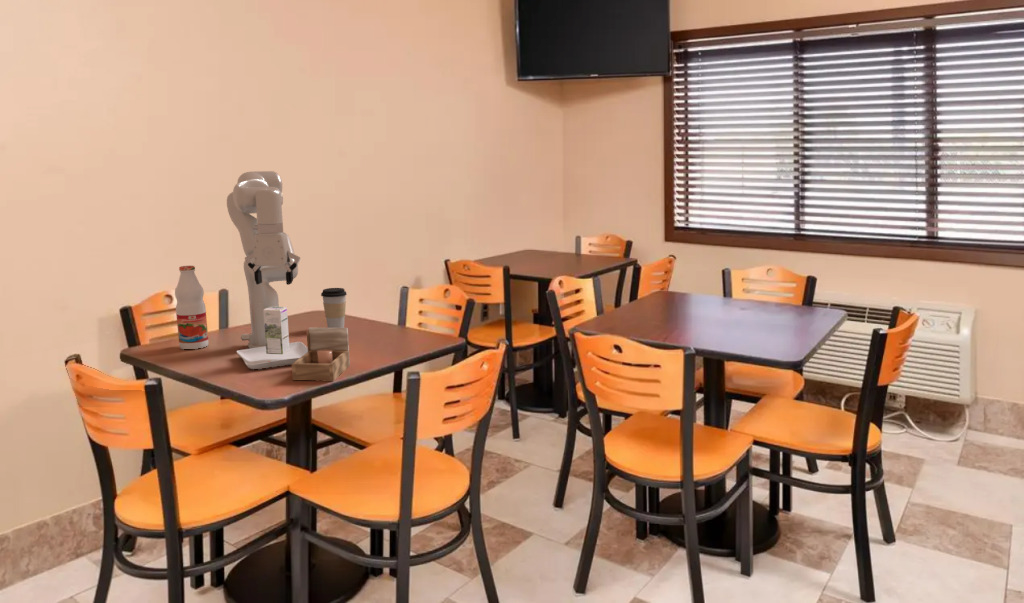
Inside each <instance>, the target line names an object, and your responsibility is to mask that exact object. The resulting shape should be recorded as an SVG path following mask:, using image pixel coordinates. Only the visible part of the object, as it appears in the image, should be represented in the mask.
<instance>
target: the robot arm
mask: <svg viewBox="0 0 1024 603" xmlns="http://www.w3.org/2000/svg"><path fill="white" fill-rule="evenodd" d="M283 196H284V195H283V182H282V177H281V175H279V173H277V172H276V171H274V170H269V171H268V170H267V171H265V170H263V171H262V170H261V171H259V170H258V171H257V170H256V171H247V172H244V173H242V174H241V175H239V177H238V179H237V183H236V184H235V185H234V186H233V191H231V192H230V193H229V194H228V195H227V197H226V207H227V213H228V216H229V217H230V219H231V221H232V223H233V225H234V226H235V228H236V229H237V231H238V232H239V236H240V241H241V244H242V245H241V246H242V249H243V252H244V254H245V257H244V261H243V272H244V276H245V281H246V285H247V292H248V293H247V294H248V303H249V304H248V305H249V314H250V329H251V332H250V333H242V334H240V339H241V341H248V343H247V348H248V349H251V348H257V347H264V346H266V341H265V327H264V313H263V310H264V309H266V308H267V307H280V303H279V302H280V301H279V294H278V292H277V290H275V288H273V287H272V286H271V284H270V283H273V282H285V281H286V282H285V284H286V285H287V286H288V285H291V284H293V282H294V279H295V278H297V276H298V275H299V265H298V264H299V263H300V260H301V257H300V256H298V255H297V254H295V251H294V248H293V243H292V241H291V238H290V236H289V234H287V233H286V232H285V231H284V225H283V220H284V219H283V207H282V205H283V203H284V197H283ZM252 214H256V217H255V216H254V215H252Z"/></svg>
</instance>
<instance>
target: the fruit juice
mask: <svg viewBox="0 0 1024 603" xmlns="http://www.w3.org/2000/svg"><path fill="white" fill-rule="evenodd" d="M178 270H179V273H180V275H179V278H178V282H177V285H176V286H175V289H174V296H175V299H176V305H175V315H176V325H177V326H176V327H177V335H178V347H179V348H180V350H184V349H195V350H199V349H198V348H201V349H204V348H203V347H205V348H207V347H208V346H209V341H210V340H209V333H208V331H209V330H208V320H207V310H206V308H207V307H206V304H205V302H204V294H205V293H204V292H205V291H204V288H203V286H202V285H201V283H200V282H199V280H198V278H197V275H196V273H195V271H196V266H195V265H181V266H179V268H178ZM206 346H207V347H206Z"/></svg>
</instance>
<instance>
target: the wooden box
mask: <svg viewBox="0 0 1024 603" xmlns="http://www.w3.org/2000/svg"><path fill="white" fill-rule="evenodd" d="M306 342H307V343H306V344H307V346H306V347H307V348H308V352H307V353H306V354H305V355H303V356H302V357H301V358H299V359H298V360H297V361H295V362H294V363H293V364H292V365H291V372H292V381H293V380H325V381H324V382H334V381H336V380H337V378H339V377H340V376H341V375H342V374H343V373H344V372H345V371H346V370H347V369H348V368H349V367H350V366H351V362H350V346H349V328H348V327H344V328H328V327H308V331H306ZM322 349H331V350H332V356H333V362H331V363H330V364H318V355H317V351H318V350H322ZM340 374H341V375H340ZM339 375H340V376H339Z"/></svg>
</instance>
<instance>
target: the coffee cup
mask: <svg viewBox="0 0 1024 603" xmlns="http://www.w3.org/2000/svg"><path fill="white" fill-rule="evenodd" d="M320 296H321V297H322V300H323V302H322V303H323V309H324V316H325V320H326V325H327V326H326V327H327V328H345V317H346V303H347V302H346V296H347V291H346V290H345V288H342V287H329V288H324V289H323V290H322V292H321V293H320Z"/></svg>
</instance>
